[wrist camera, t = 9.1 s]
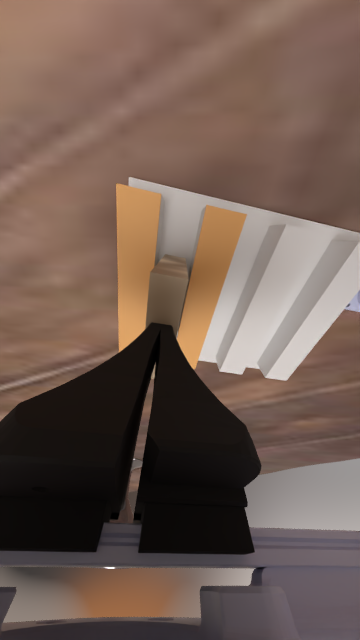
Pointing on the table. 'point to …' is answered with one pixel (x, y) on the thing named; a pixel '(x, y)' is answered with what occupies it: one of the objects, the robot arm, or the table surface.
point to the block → (167, 292)
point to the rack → (234, 276)
